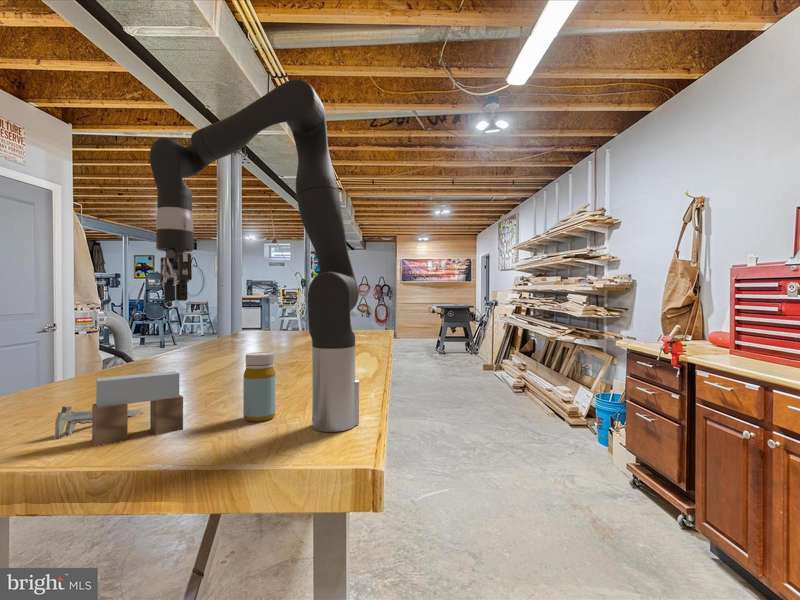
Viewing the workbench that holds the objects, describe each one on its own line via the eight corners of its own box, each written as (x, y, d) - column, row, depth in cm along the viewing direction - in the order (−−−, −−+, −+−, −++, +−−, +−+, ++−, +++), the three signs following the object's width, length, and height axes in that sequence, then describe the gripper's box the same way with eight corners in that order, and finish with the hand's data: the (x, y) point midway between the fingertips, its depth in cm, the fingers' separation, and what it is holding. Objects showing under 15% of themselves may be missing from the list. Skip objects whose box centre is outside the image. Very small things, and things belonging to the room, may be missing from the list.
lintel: (175, 393, 91) (175, 370, 91) (179, 397, 88) (179, 373, 88) (96, 403, 82) (96, 378, 82) (97, 407, 79) (97, 381, 79)
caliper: (59, 440, 83) (59, 408, 83) (54, 440, 83) (55, 408, 83) (145, 413, 102) (145, 387, 102) (141, 413, 103) (141, 387, 103)
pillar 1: (122, 434, 85) (122, 400, 85) (127, 440, 82) (127, 404, 82) (92, 440, 82) (92, 404, 82) (96, 446, 78) (96, 409, 78)
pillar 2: (176, 424, 92) (176, 392, 92) (183, 429, 88) (183, 396, 89) (150, 429, 89) (150, 396, 89) (156, 434, 85) (156, 400, 85)
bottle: (262, 423, 92) (262, 356, 93) (236, 421, 95) (236, 354, 95) (281, 415, 99) (281, 352, 99) (256, 413, 101) (256, 351, 101)
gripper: (203, 227, 93) (204, 300, 93) (182, 235, 103) (182, 301, 103) (166, 223, 88) (166, 300, 88) (148, 232, 98) (148, 301, 98)
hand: (175, 300), depth 96 cm, fingers open, 8 cm apart
